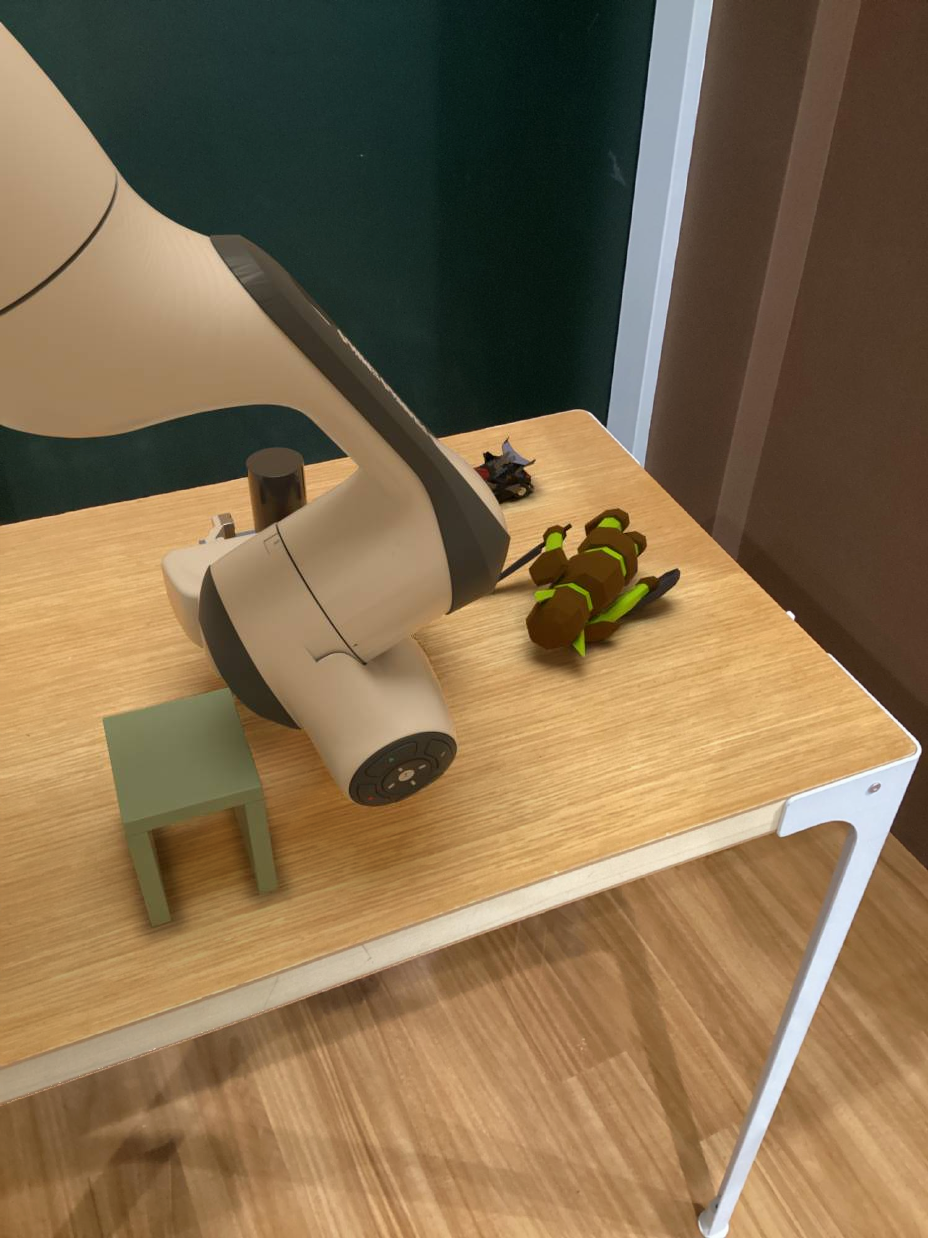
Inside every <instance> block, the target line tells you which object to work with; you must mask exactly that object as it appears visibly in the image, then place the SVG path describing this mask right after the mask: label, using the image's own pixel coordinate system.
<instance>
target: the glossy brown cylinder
mask: <svg viewBox="0 0 928 1238" xmlns="http://www.w3.org/2000/svg"><path fill="white" fill-rule="evenodd" d="M245 467H246V468H245V469H246V475H247V483H248V490H249V500H250V507H251V512H252V522H253V528H254V529H253V530H255V533H259V532H261V531H263V530H264V529H266V528H268V527H269V526H271V525H272V524H274V523H276V522H277V523H278V522H279V521H281V520H283V519H284V518H286V517H287V516H289V515H291V514H292V513H294V512H295V511H297V510H299V509H300V508H302V507H303V506H305V505H307V504H308V494H307V484H306V473H305V462H304V458H303V455H302V454H301V453H299V452H298V451H296V450H295V449H291V448H288V447H276V446H275V447H267V448H263V449H260V450H257V451H256V452H254V453H252V454H251V455H250V456H248V458H247V459H246V461H245Z"/></svg>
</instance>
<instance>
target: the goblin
mask: <svg viewBox="0 0 928 1238" xmlns="http://www.w3.org/2000/svg"><path fill="white" fill-rule="evenodd" d="M630 524H631V522H630V516H629V512H626V511H624V510H623V509H621V508H619V507H617V508H611V509H606V510H604V511H602V512H601V513H600V514H598V515H597V516H595V517H594V518H592V519H591V520H589V521H588V522H586V523H585V524H584V532H585V536H586V537H585V538H584V539H583V541H581V542H580V544H579V545H578V547H577V548H576V551H577V554H574V555H572V556H571V557H569V559H568V556H567V554H566V552H565V551H564V549H563V547H564V546H563V545H564V543H563V542H564V541H565V539H566V538H567V536H568V535H567V531H569V530H570V529H572V528H573V525H572V524H571V523H568V524H566V525H565V526H561V525H560V524H556V525H552V526H549V527H547V529H546V530H545V532H544V533H543V534H542V539H543V542H541V543H539V544H537V545H536V546H535V547H534V548H531V550H529V551H528V552H527V553H525V554H524V555H523V556H521V557H520V558H518V559H517V560H516V561H515V562H513V563H512V564H511V565H510V566H509V565H508V567H507V568H506V569H504V570H502V572H501V575H500V577H499V580H498V582H497V584H498V583H500V582H501V581H503V580H504V579H505V578H507V577H509V576H510V575H512V574H513V573H515V572H516V571H518V570H519V569H521V568H522V567H524V566H525V565H527V564H528V563H530V562H531V561H532V560H534V559H535V558H536V559H535V560H534V562H533V563H532V564H531V565H530V566H529V568H528V572H529V576H530V577H531V580H532V581H533V584H534V585H535V586H536V587H537V588H539V587H542V586H546V585H549V584H550V585H549V586H548V588H546V589H543V590H541V589H540V590H537V591H536V592H535V593H534V594H533V596H534V598H535V599H536V603H535V604H534V605H533V608H532V609H531V611H530V612H529V613H528V615H527V616H526V617H525V626H526V629H527V632H528V636H529V640H530V641H531V642H532V643H533V644H534V645H537V646H538V647H540V648H542V649H544V650H545V651H551V650H552V651H553V650H557V649H563V648H567V647H568V646H570V645H572V646H573V647H574V648H575V650H576V651H577V652H578V653H579V654H580V655H581V656H582V657H583V658H585V657H586V645H585V642H588V643H597V642H599V641H602V640H604V639H607V638H610V637H611V636H612V635H613V634H615V633H616V632H617V631H618V630H619V629H620V628H621V626H622V625H623V624H622V623H619V622H616V621H617V620H619V619H621V617H623V616H624V615H626V614H631V615H633V614H635V613H637V612H640V611H642V610H644V609H646V608H647V607H649V606H650V605H651V604H653V603H655V602H656V601H658V600H660V599H661V598H662V597H663V596H664V595H665V594H667V593H668V592H669V591H671V590H672V589H673V588H674V587H675V586H677V584H678V583H679V581H680V579H681V570H680V569H679V568H678V567H676V568H674V569H672V570H668V571H666V572H665V573H662V574H661V575H660V576H658V577H657V576H655V575H651V576H644V577H641V578H640V579H639V580H638V581H637V582H636V583H635V585H634V586H633V587H632V588H631V589H630V590H628V591H626V592H625V593H624V594H622V595H621V596H620V597H618V598H617V596H619V594H620V593H621V592H622V591H623V589H624V588H625V587H628V585H629V584H630V582H631V581H632V580H633V578H634V577H635V576H636V574H637V573H638V571H639V561H638V560H639V559H638V558H640V556H641V555H642V554H643V553H644V552H645V551H646V549H647V546H648V542H647V536H646V535H644V534H642V533H640V532H639V531H636V530H633V531H627V532H625V531H626V530H627V529H628V527H629V525H630ZM544 548H545V549H544ZM543 549H544V551H543ZM542 551H543V552H542ZM616 598H617V599H616ZM615 599H616V600H615ZM614 600H615V601H614ZM613 601H614V602H613ZM612 602H613V603H612Z"/></svg>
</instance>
